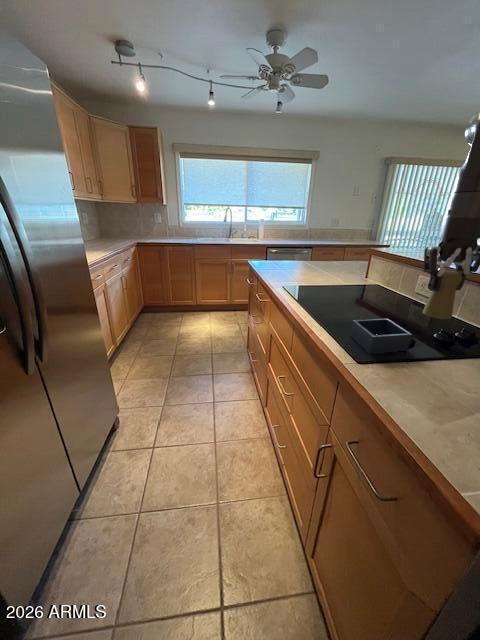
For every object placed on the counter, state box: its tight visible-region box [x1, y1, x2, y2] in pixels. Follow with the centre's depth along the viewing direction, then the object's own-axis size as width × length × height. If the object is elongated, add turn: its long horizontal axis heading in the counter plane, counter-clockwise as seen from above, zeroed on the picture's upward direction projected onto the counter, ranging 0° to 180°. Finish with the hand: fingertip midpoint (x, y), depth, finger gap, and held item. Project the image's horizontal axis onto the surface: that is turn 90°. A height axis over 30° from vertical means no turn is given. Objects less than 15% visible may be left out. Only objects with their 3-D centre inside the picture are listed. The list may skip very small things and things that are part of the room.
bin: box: [349, 317, 413, 355], centre depth 79 cm, size 12×12×6 cm
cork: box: [422, 269, 462, 320], centre depth 64 cm, size 6×6×11 cm
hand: (444, 289), depth 63 cm, fingers closed on cork, 5 cm apart
